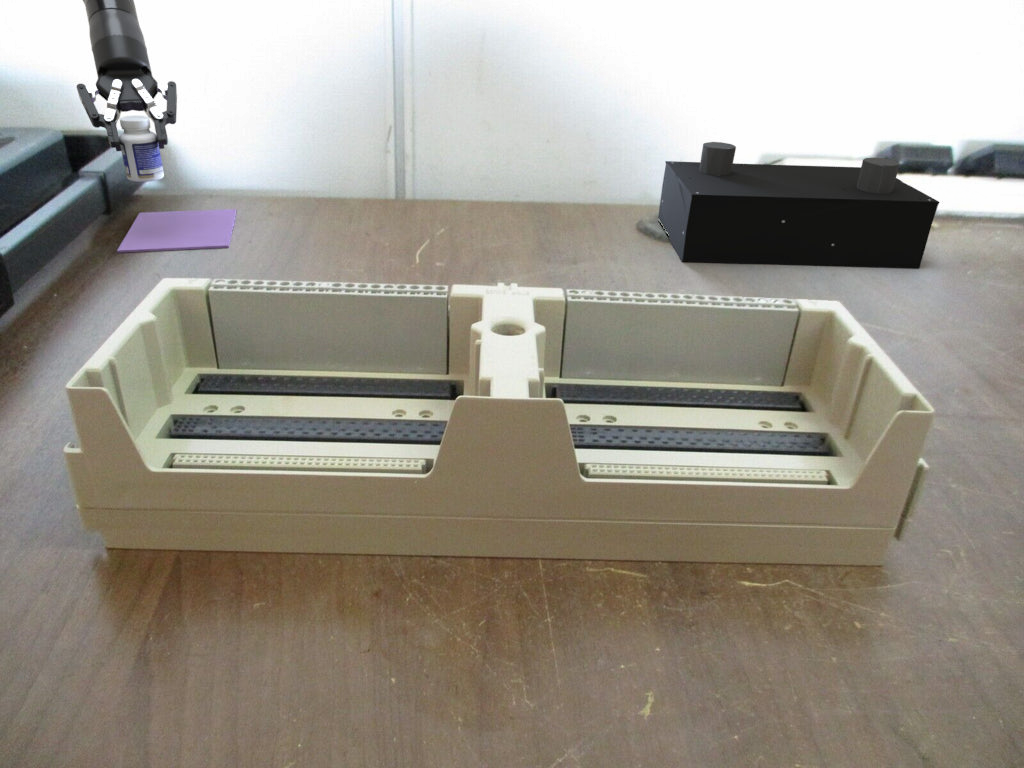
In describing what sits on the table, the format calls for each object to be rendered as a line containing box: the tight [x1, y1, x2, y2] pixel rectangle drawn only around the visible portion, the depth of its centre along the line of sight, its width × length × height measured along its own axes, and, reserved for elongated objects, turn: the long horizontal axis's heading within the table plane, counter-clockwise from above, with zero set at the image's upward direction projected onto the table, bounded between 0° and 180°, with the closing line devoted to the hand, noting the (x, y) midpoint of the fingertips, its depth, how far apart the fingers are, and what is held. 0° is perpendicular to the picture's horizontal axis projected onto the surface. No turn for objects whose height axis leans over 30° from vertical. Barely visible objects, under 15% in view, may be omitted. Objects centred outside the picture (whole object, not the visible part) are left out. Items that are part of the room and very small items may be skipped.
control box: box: [657, 141, 940, 269], centre depth 128 cm, size 38×24×15 cm, turn 90°
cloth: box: [116, 208, 238, 254], centre depth 126 cm, size 16×20×1 cm
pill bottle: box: [118, 115, 165, 183], centre depth 115 cm, size 5×5×9 cm
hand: (140, 146), depth 113 cm, fingers closed on pill bottle, 5 cm apart
